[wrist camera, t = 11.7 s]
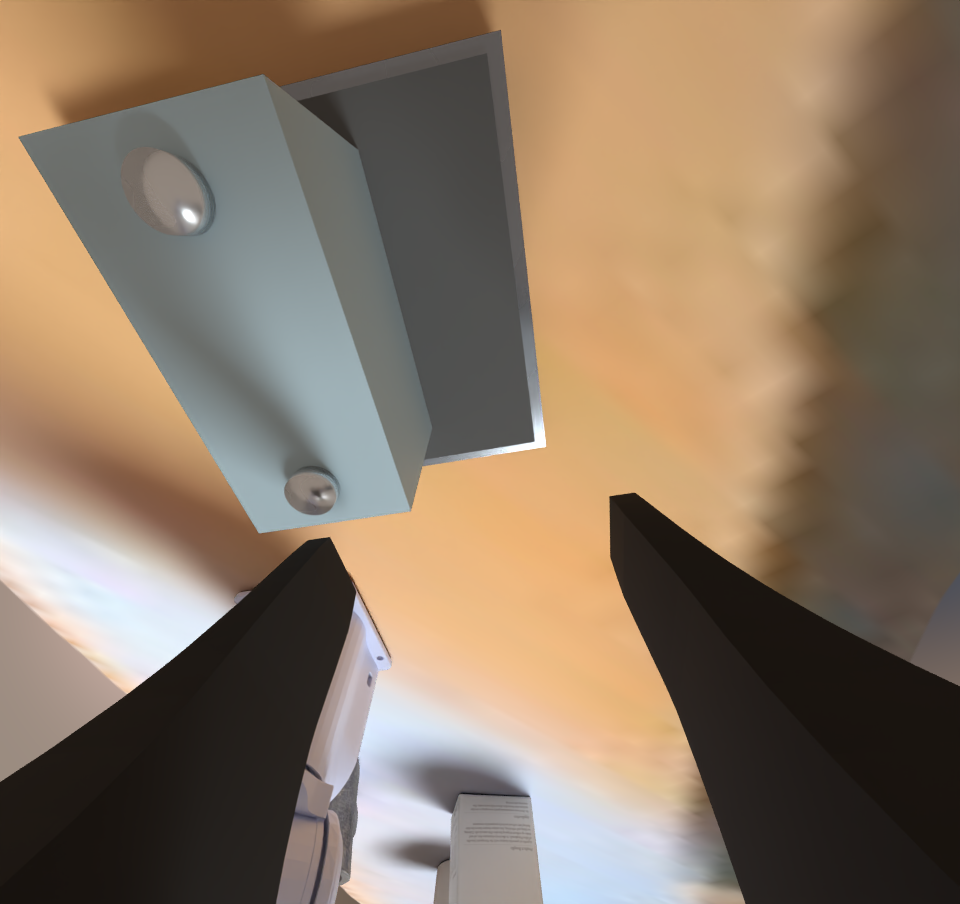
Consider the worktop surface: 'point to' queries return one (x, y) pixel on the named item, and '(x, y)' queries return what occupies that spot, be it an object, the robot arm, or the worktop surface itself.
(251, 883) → the robot arm
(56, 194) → the block
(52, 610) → the worktop surface
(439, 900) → the coffee cup
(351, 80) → the shallow gray tray
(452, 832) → the skincare box
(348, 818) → the pipe
